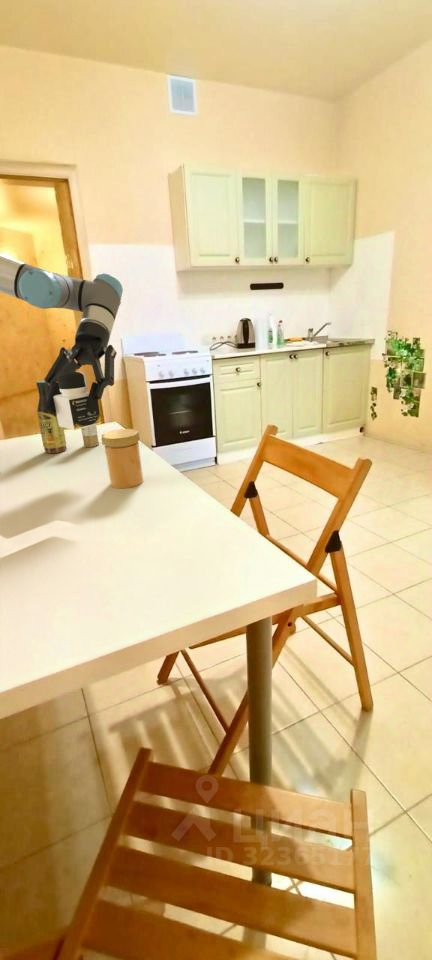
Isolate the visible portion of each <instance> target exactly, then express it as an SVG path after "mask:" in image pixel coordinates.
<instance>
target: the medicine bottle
mask: <svg viewBox="0 0 432 960" xmlns="http://www.w3.org/2000/svg"><path fill="white" fill-rule="evenodd" d="M57 378H58V382H57V383H59V389H60V392H62V394H60V395H55V396H54V397H53V399H54V404H55V409H56V414H57V419H58V424H59V426H60V427H64V429H68V430H73V431H78V430H81V428H85V427H89V426H93V425H96V426H97V425H101V424H102V416H101V412H100V411H101V410H100V405H99V401H98V402H97V406H96V409H95V413H94V414H91V413H90V412H89V411H88V410H87V409H86V408H85V406H86V402H87V399H88V396H89V392H90V391H88V389H89V386H88V380H87V374H86V373H85V372H83V371H81V370H80V371H79V370H76V371H72V372H65V373H61V374H60V375H58V377H57Z"/></svg>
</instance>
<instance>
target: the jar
mask: <svg viewBox="0 0 432 960" xmlns="http://www.w3.org/2000/svg"><path fill="white" fill-rule="evenodd" d="M104 452H105V458H106V464H107V471H108V477H109V482H110V486H111V487H112V488H115V489H130V488H135V487H137V486H139V485H141V484H142V483H144V476H143V468H142V459H141V452H140V446H139V441H138V442H136V443H134V444H131V445H127V446H120V447H108V446H104Z"/></svg>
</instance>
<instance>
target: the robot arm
mask: <svg viewBox="0 0 432 960" xmlns="http://www.w3.org/2000/svg"><path fill="white" fill-rule="evenodd" d="M123 291H124V288H123V286H122V283H121V282H120V280H119V279H118V278H117V277H116V276H114V275H112V274H110V273H101V274H96V275H95V277H94V279H92V280H89V279H88V280H87V279H81V278H78V277H73V276H68V275H64V274H60V273H56V272H51V271H48V270H44V269H42V268H40V267H37V266H34V265H32V264H31V265H30V264H27V263H25V262H22V261H20V260H17V259H15V258H11V257H9V256H5V255H3V254H0V293H1V294H3V295H7V296H10V297H13V298H15V299H19V300H21V301H24V302H27V303H28V304H29V305H31V306H33V307H35V308H39V309H45V310H46V309H65V310H71V311H76V312H81V313H82V315H81V318H80V320H79V324H78V327H77V330H76V333H75V335H74V344H73V346H72V347H71V348H68V349H66V348H65V347H64V346H62V347H61V348H60V349H59V353H58V355H57V357H56V359H55V361H54V362H53V364H52V365H51V367H50V369H49V370H48V372H47V374H46V376H45V377H44V378H43V380H44V381H45V382H46V383H47V384H48V385H49V386H50V388H49V391H48V394H47V397H48V401H47V403H46V406H45V408H46V409H47V410H48V411H49V412H50V413H51V414H55V412H56V409H55V404H54V399H53V397H54V396H55V395H60V394H62V392H60V389H59V383H58V378H57V377H58V375H60V374H61V373H65V372H72V371H77V370H80V369H81V368H82V366H87V365H88V366H92V370H93V374H94V377H95V378H94V380H95V381H93V382H91V386H90V388H89V391H88V392H89V396H88V399H87V402H86V406H85V408H86V409H87V410H88V411H89V412H90V413H91V414H94V413H95V409H96V406H97V402H98V403H99V400H101V399H102V398H103V395H104V391H105V389H107V387H108V386H109V387H113V386H115V359H116V356H117V350H116V349H115V348H114V347H113V345H112V344H109V341H110V337H111V335H112V333H113V328H114V324H115V321H116V317H117V314H118V312H119V309H120V306H121V303H122V297H123ZM103 356H104V368H103V369H104V370H103V369H102V363H101V358H102V357H103ZM103 371H104V373H103Z"/></svg>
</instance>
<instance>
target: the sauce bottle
mask: <svg viewBox="0 0 432 960" xmlns="http://www.w3.org/2000/svg"><path fill="white" fill-rule="evenodd" d="M36 387H37V390H38V403H37V408H36V409H37V411H36V413H37V414H36V415H37V418H38V423H39V424H38V425H39V431H40V435H41V442H42V447H43V449H44V452H45V453H47V454H57V453H61V452H64V451H66V450H67V441H66V434H65V428H64V427H60V426H59V424H58V419H57V414H56V412H55V414H51V413H50V412H49V411H48V410H47V409H46V408H45V406H46V403H47V401H48V397H47V394H48V391H49V388H50V386H49V385H48V384H47V383H46V382H45V381H44V379H42V380H37V381H36Z"/></svg>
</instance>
